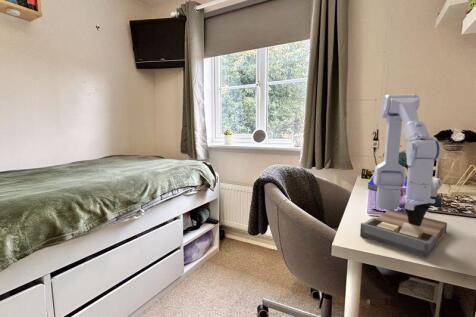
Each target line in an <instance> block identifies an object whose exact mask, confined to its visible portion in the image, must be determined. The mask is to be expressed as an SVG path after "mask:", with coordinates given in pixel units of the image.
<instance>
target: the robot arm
mask: <svg viewBox="0 0 476 317" xmlns="http://www.w3.org/2000/svg"><path fill="white" fill-rule="evenodd" d="M419 107H420V96H419V95H418V93H413V94H411V93H410V94H406V93H405V94H386V95H385V96H384V97H383V100H382V107H381V117H382V118H383V119H386V127H385V128H386V130H385V139H384V140H385V143H384V151H385V152H384V151H383V153H384V157H383V161H382V162H380V163H379V164H377V165H375V167H374V172H373V174H374V175H373V174H372V176H373V181H374V184H375V185H376V186H377V190H376V202H375V206H377V207H378V208H381V209H386V210H394V209H397V207H398V206H399V205H401V196H402V195H401V192H400V190H399V189H401V187H403V186H404V185H405V181H406V179H407V186H406V195H405V201H406V202H405V203H403V205H402V206H403V209H404V210H405V213H407V216H408V221H409V224H412V225H416V226H421V223H422V220H423V218H424V217H425V215H426V213H427V212H428V211H429V209H431V205H429V204H426V203H435V200H434V199H430V194H431V185H432V178H433V177H434V176H433V174H434V165H435V161H437V160H438V159H439V157H440V153H441V145H440V142H439V140H438V139H436V138H434V137H431V136H430V132H429V131H428V128H427V127H426V123H425V122H423V121H421V120H420V118H419V116H418V112H417V111H418V110H419ZM403 124H404V126H402V125H403ZM402 127H403V128H402ZM402 133H403V136H404V138H405V141H406V148H405V152H406V156H407V165H408V170H407V178H406V168H405V167H402V166H401V165H400V164H398V159H399V152H400V147H401V146H400V145H401V137H402ZM387 170H390V171H387Z"/></svg>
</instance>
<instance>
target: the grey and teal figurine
mask: <svg viewBox="0 0 476 317" xmlns="http://www.w3.org/2000/svg"><path fill="white" fill-rule="evenodd" d="M442 186H443V181H442V180H441V178H438V177H432V185H431V194H430V199H434V200H435V203H426V204H429V205H430V206H436V207H442V202H443V201H442V199H443V197H442V196H440V195H438V191H439V190H440V189H441V187H442Z"/></svg>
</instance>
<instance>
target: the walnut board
mask: <svg viewBox="0 0 476 317" xmlns="http://www.w3.org/2000/svg"><path fill="white" fill-rule="evenodd" d="M382 222H385V223H389V224H392V225H396V226H399V231H400V230H401V228H402V226H403V224H404V223H408V224H409V221H408V216H407V213H406V212H404V211H400V210H399V211H395V210H389V211H387V212H383V214H381V215H380V216H378V217H376V220H375V224H376V225H379V224H380V223H382ZM420 227H423V234H422V236H421V238H425V239H428V240H429V239H430V238H431V237H432V236H433V234H435V235H437V243H436V245H437V244H438V242H440V240H441V239H442V237H444V235H446V233H447V229H448V228H447V227H448V222H446V221H441V220H439V219H438V220H437V219H433V218H429V217H425V216H424V218H423V220H422V223H421V226H420Z"/></svg>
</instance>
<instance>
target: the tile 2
mask: <svg viewBox="0 0 476 317" xmlns="http://www.w3.org/2000/svg"><path fill="white" fill-rule="evenodd" d="M399 234H402V235H406V236H409V237H413V238H416V239H420V238H421V236H422V234H423V227H420V226H416V225H412V224H408V223H404V224H403V226H402V228H401V230H400V231H399Z"/></svg>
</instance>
